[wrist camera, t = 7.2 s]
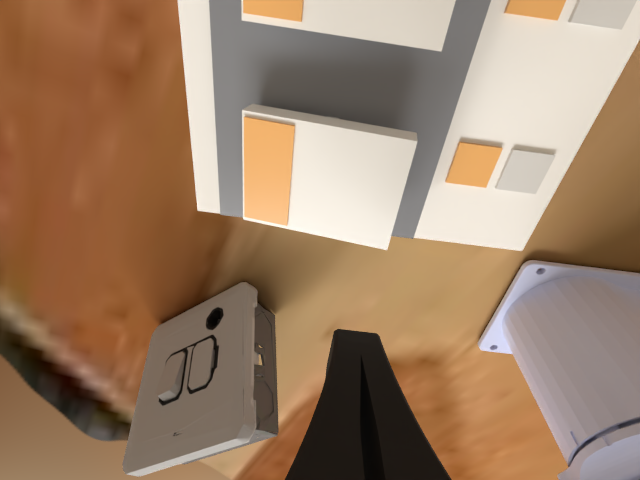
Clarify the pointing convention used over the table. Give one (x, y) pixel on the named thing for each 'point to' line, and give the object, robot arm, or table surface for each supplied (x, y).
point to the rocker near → (360, 19)
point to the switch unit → (420, 103)
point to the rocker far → (324, 174)
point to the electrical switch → (206, 384)
